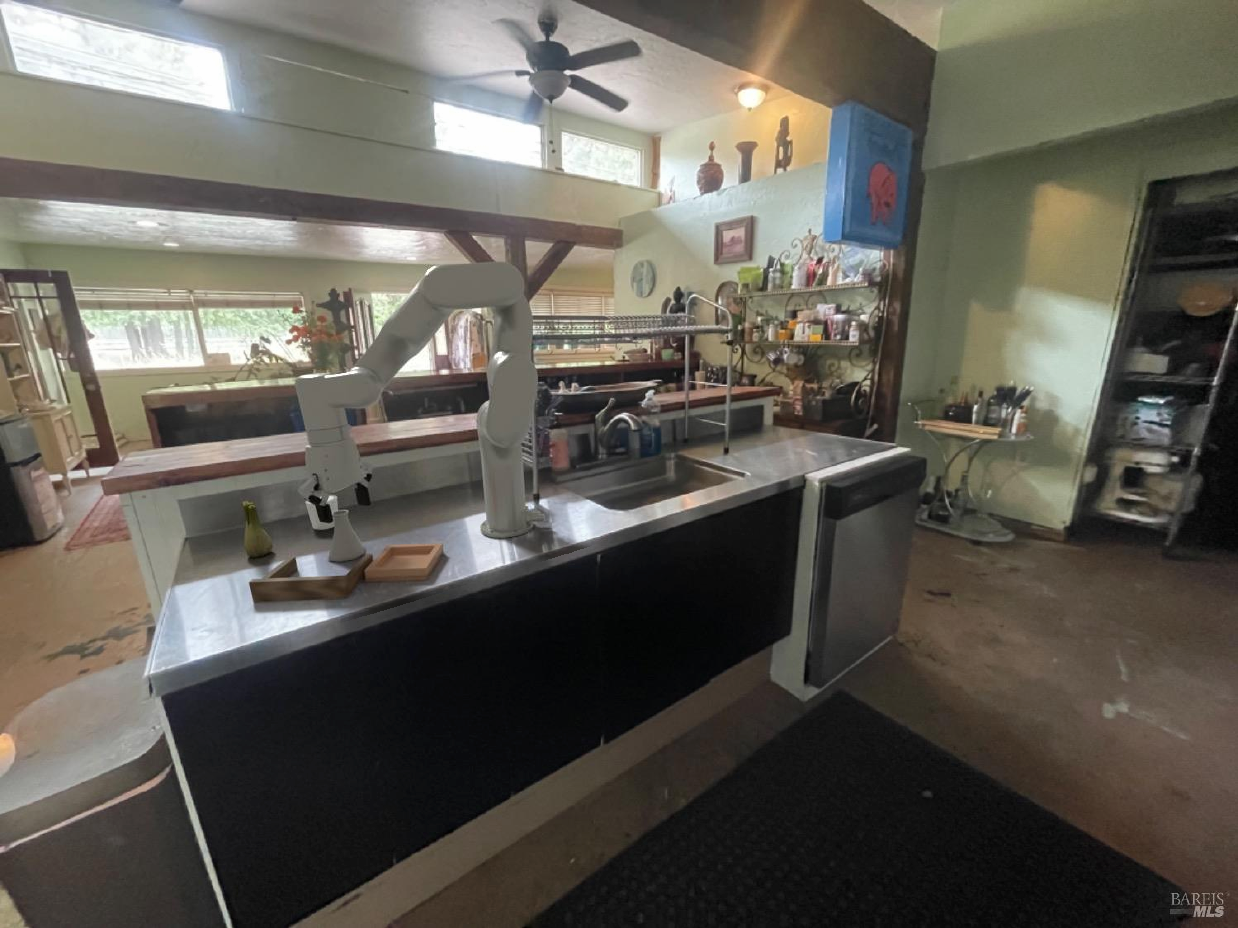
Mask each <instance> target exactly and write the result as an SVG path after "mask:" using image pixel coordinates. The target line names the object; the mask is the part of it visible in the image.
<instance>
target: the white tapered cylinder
mask: <svg viewBox="0 0 1238 928" xmlns="http://www.w3.org/2000/svg"><path fill="white" fill-rule="evenodd" d="M321 497H322V495H321ZM321 497H320V499H321ZM326 504H329V505H330V508H331V512H332V513H333V512H335V511H338V510H339V507H338V506H339V504H338V496H337V495H335V494H334V495H333V494H330V496H329V498H328V500H327V503H326ZM305 506H306V510H307V512H308V517H309V519H310V520H309V521H310V522H311V525H312V528H313V529H314V530H318V531H319V530H329V529H331V528H334V524H335V523H334V518H333V522H332V523H324V522H320V521H319V518H318V515H317V511H316V507H315V505H312V504H311V503H310V502H308V501H306V500H305Z"/></svg>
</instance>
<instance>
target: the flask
mask: <svg viewBox="0 0 1238 928" xmlns="http://www.w3.org/2000/svg"><path fill="white" fill-rule="evenodd" d="M349 512H350V511H349V510H348V509H338V511H335V512H333V513H332V516H333V518H334V523H335V524H334V527H333V528H334V532H333V536H332V542H331V546H330V550H329V555H328V559H327V561H331V562H339V563H341V562H345V561H352V560H356V559H358V558H359V557H361V556H362V555H363V556H364V554H365V552H366V547H365V546H364V543H362V541H361V540H360V538H359V537H358V536H357V533H356V532H355V530H354V529H353V527H352V525H351V522H350V519H349Z"/></svg>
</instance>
